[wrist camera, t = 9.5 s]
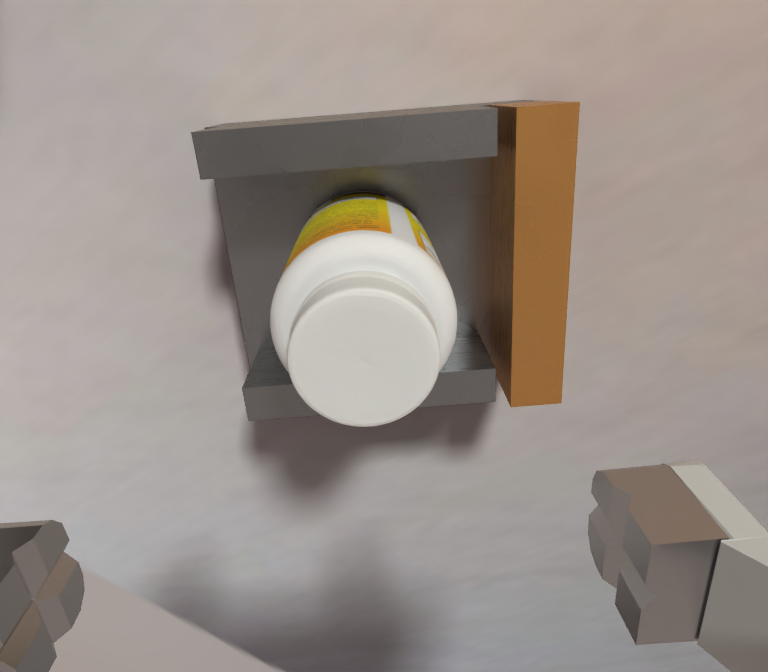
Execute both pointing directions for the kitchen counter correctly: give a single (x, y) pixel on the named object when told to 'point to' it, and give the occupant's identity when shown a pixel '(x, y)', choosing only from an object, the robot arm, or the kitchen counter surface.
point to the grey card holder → (437, 215)
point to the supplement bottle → (363, 311)
